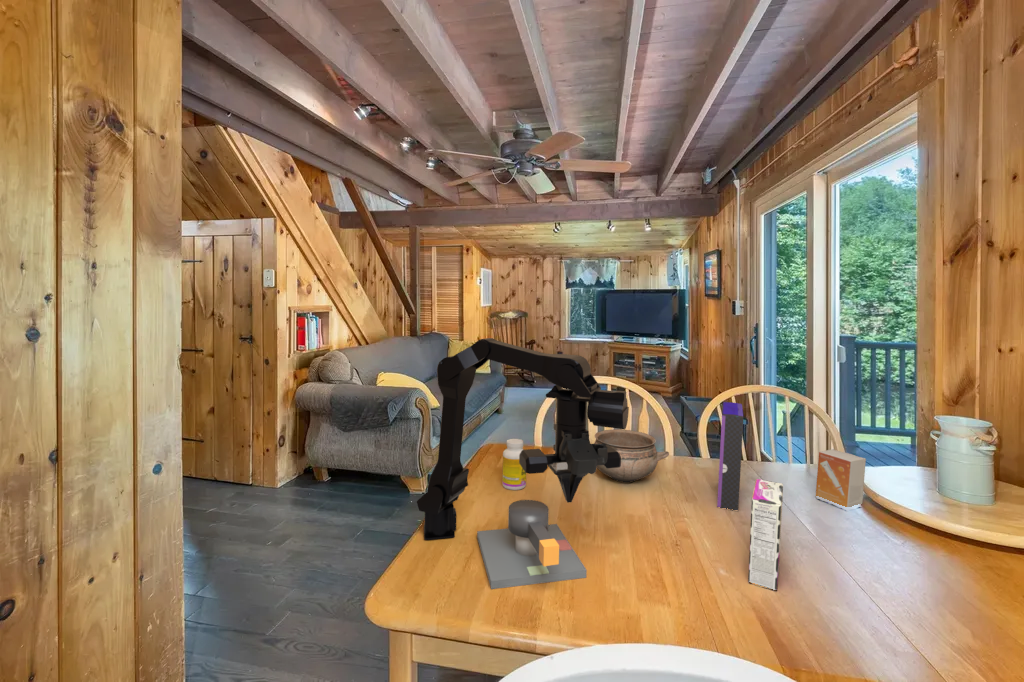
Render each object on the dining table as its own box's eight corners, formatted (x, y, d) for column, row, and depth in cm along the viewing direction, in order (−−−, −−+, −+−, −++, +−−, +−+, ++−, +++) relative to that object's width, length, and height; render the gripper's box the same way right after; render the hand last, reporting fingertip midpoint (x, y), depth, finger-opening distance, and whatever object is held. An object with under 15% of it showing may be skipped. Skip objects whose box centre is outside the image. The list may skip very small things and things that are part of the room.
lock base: (491, 589, 80) (491, 558, 80) (477, 537, 98) (477, 512, 97) (586, 577, 84) (587, 548, 84) (556, 530, 102) (557, 505, 101)
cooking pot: (663, 470, 140) (665, 431, 139) (672, 495, 121) (674, 451, 120) (582, 463, 145) (583, 426, 144) (578, 486, 126) (579, 443, 125)
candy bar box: (750, 555, 93) (755, 477, 91) (779, 563, 90) (784, 483, 89) (745, 583, 83) (751, 497, 82) (777, 593, 80) (783, 503, 79)
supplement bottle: (523, 492, 122) (524, 445, 121) (500, 489, 124) (500, 443, 123) (527, 482, 129) (528, 438, 128) (505, 480, 130) (505, 436, 129)
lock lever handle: (503, 521, 93) (504, 501, 93) (540, 517, 95) (540, 498, 95) (529, 568, 77) (529, 544, 76) (572, 562, 79) (573, 539, 79)
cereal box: (718, 483, 130) (723, 401, 128) (737, 486, 128) (741, 403, 126) (717, 507, 114) (722, 414, 113) (738, 511, 112) (743, 416, 110)
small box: (814, 499, 120) (818, 451, 119) (830, 495, 123) (833, 448, 122) (847, 511, 113) (851, 461, 112) (862, 507, 116) (866, 458, 114)
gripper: (535, 437, 76) (533, 526, 77) (636, 431, 80) (633, 516, 81) (519, 420, 86) (517, 499, 88) (609, 416, 91) (606, 491, 92)
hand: (568, 501), depth 87 cm, fingers closed
